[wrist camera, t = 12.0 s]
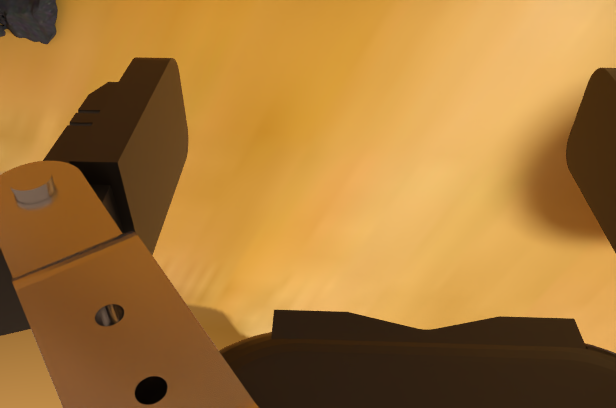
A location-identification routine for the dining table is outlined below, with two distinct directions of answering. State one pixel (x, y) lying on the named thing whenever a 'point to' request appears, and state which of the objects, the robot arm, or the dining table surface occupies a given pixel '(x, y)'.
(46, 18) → the dark slate chunk
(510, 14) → the dining table surface
